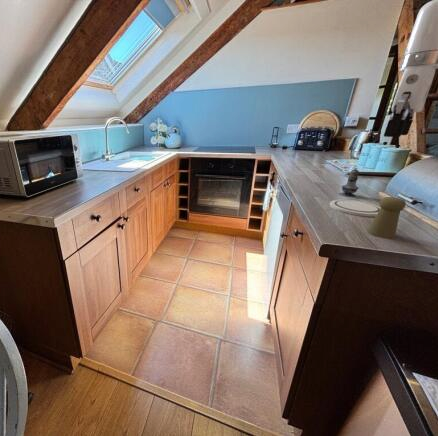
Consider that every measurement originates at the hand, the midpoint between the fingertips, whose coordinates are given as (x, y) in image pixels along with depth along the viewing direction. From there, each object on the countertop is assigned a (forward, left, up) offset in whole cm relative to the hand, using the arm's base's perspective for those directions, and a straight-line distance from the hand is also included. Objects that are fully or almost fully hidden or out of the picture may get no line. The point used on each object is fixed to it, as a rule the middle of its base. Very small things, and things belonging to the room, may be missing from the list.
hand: (395, 135), depth 66 cm
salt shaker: (-27, -27, -27) cm, 47 cm away
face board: (-13, -13, -27) cm, 33 cm away
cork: (+1, +5, -27) cm, 28 cm away
